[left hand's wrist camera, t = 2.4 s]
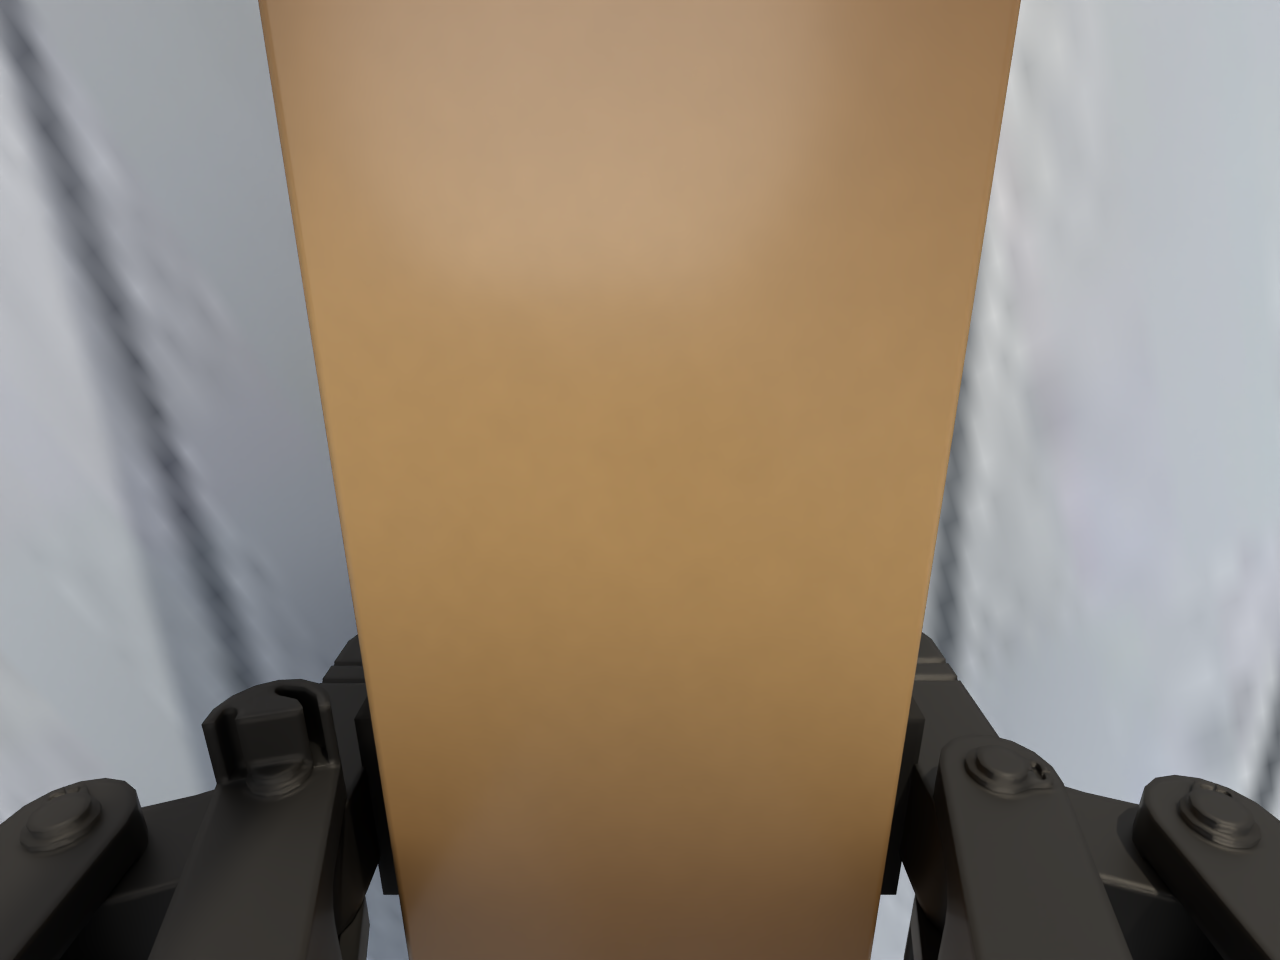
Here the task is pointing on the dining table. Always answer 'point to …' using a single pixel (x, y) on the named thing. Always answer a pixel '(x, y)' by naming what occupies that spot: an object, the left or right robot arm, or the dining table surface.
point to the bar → (639, 440)
